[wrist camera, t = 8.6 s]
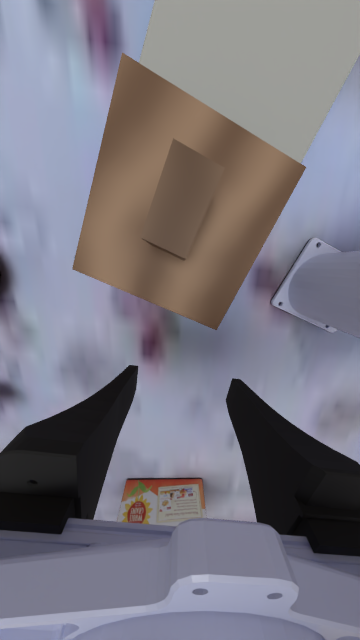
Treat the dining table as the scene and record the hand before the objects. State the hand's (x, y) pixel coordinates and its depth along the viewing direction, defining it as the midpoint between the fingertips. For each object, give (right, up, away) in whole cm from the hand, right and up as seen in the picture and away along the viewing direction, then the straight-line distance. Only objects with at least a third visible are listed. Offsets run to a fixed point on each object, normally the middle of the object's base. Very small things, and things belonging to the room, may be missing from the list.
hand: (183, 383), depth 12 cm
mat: (+6, +27, +1) cm, 27 cm away
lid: (0, +13, +1) cm, 13 cm away
